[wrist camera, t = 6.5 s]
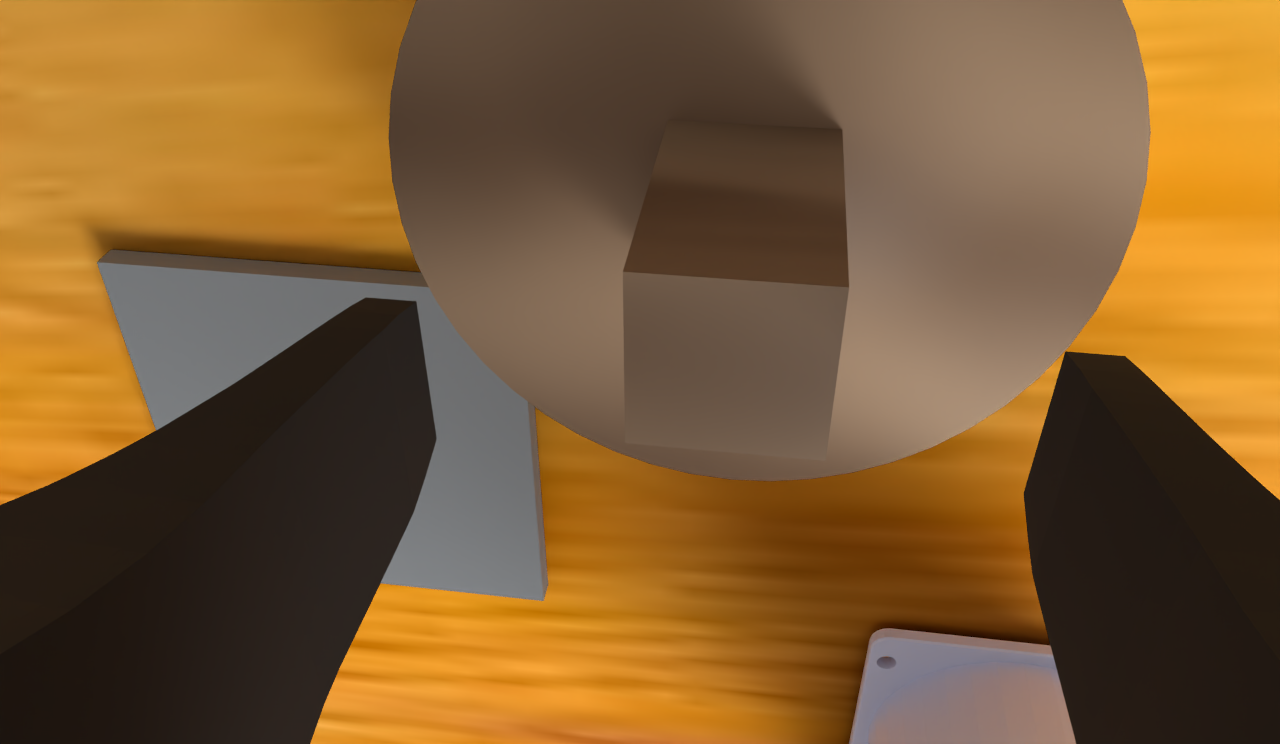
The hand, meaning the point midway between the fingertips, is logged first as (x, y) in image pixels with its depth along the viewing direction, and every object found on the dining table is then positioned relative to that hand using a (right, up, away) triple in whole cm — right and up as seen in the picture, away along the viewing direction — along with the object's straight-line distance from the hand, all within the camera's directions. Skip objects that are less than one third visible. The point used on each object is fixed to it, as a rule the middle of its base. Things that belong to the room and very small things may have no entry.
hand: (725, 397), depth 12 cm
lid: (+1, +3, +5) cm, 6 cm away
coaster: (-9, -1, +15) cm, 17 cm away
